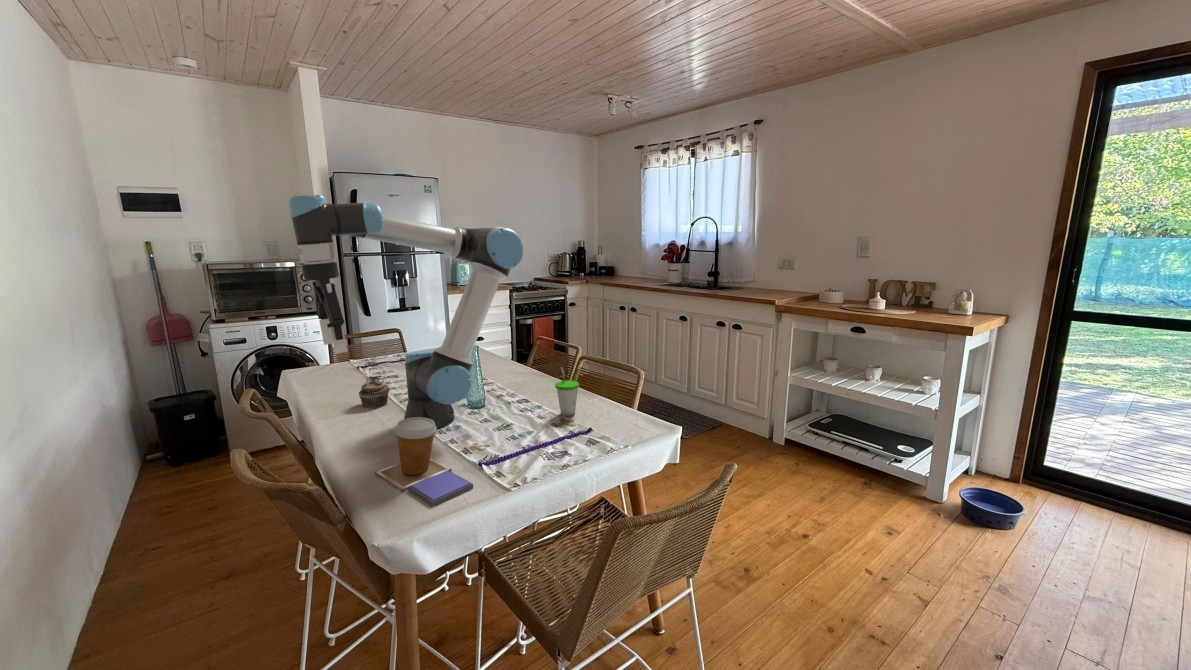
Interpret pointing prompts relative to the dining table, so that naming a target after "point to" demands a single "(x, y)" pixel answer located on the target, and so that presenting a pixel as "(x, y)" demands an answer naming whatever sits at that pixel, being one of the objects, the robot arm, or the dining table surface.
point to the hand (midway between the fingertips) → (335, 348)
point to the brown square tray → (405, 480)
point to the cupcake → (374, 392)
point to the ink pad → (440, 487)
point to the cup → (567, 395)
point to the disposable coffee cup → (415, 444)
